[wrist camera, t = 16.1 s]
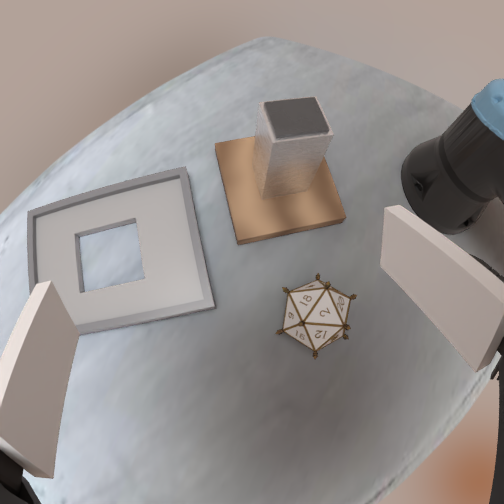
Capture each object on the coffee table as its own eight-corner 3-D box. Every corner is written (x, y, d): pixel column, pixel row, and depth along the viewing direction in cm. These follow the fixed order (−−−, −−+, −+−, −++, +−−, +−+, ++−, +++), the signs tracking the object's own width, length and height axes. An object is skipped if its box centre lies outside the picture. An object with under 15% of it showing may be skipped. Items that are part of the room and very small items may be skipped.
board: (309, 136, 45) (312, 128, 43) (341, 222, 42) (346, 217, 40) (215, 151, 44) (214, 143, 42) (237, 245, 40) (237, 240, 38)
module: (295, 158, 42) (317, 93, 29) (307, 191, 41) (334, 132, 28) (252, 165, 41) (259, 99, 29) (261, 199, 40) (273, 140, 27)
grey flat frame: (188, 175, 43) (185, 166, 40) (215, 308, 38) (214, 306, 36) (36, 217, 40) (27, 211, 37) (45, 340, 36) (35, 340, 33)
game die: (298, 304, 43) (315, 243, 37) (352, 337, 39) (381, 279, 33) (255, 344, 37) (268, 282, 31) (316, 385, 33) (345, 329, 27)
